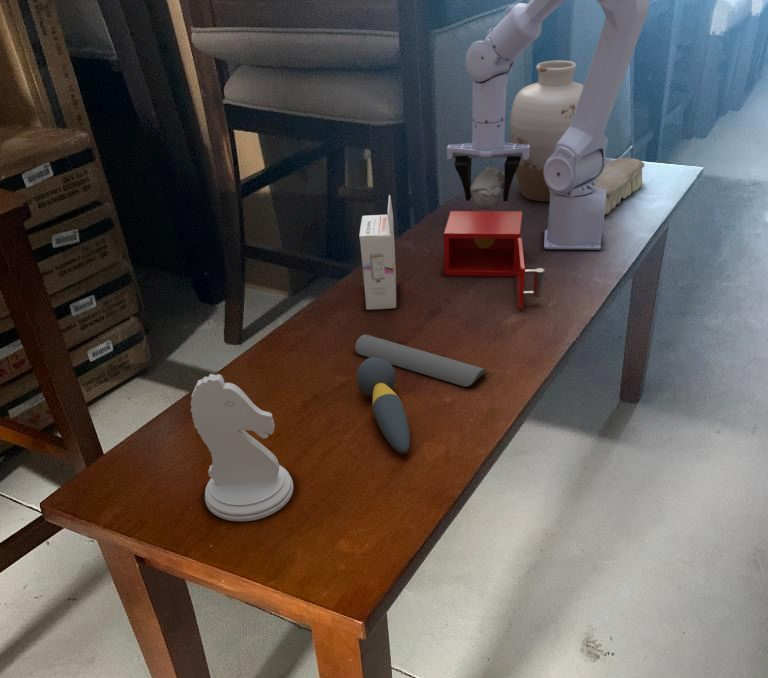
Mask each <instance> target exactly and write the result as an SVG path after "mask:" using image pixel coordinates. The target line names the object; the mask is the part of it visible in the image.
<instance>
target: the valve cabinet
mask: <svg viewBox="0 0 768 678" xmlns="http://www.w3.org/2000/svg"><path fill="white" fill-rule="evenodd" d="M522 225H523V211H522V210H521V211H519V210H516V211H513V210H507V211H505V210H503V211H502V210H499V211H497V210H495V211H494V210H493V211H490V210H487V211H485V210H484V211H483V210H481V211H480V210H479V211H477V210H472V211H471V210H466V211H465V210H451V211H450V212H449V216H448V219H447V222H446V225H445V229H444V232H443V275H444V276H460V277H462V276H464V277H466V276H467V277H469V276H470V277H516V263H517V244H518V238H522V229H523V228H522V227H523V226H522Z"/></svg>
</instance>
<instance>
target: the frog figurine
mask: <svg viewBox="0 0 768 678" xmlns="http://www.w3.org/2000/svg"><path fill="white" fill-rule="evenodd" d="M504 185H505V172H502V171H501V170H500V169H498V168H496V167H489V166H488V167H485V168H484V170H482V171H481V172H480V173H479V174H478V175H477V176H476V177H475V178H474V179H473V181H471V187H470V195H471V199H472V202H473V203H474V205H475V206H476V207H477V208H478V209H480V210H490V209H492V208H493V207H495V206H496V205H497V204H498V202H499V201H500V199H501V196H500V195H501V194H503V193H504Z"/></svg>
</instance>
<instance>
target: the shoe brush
mask: <svg viewBox="0 0 768 678" xmlns="http://www.w3.org/2000/svg"><path fill="white" fill-rule="evenodd" d="M644 167H645V162H644V161H642V160H640V159H637V158H633V157H619V158H615V159H614V160H612V161H609V162H606V163H605V167H604V170H603V172H602V173H601V174H600V176H598V177H597V179H596V185H595V188H598V189H605V190H606V206H605V215H609V213H611V211H612V210H613V209H615V208H616V206H617V205H619V204H620V203H621V199H623V200H625V199H627V198H628V197H630V196H631V194H632V193H634V192H636V191H638V190H639V189H640V188H642V186H643V168H644Z"/></svg>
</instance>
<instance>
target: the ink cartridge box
mask: <svg viewBox="0 0 768 678" xmlns="http://www.w3.org/2000/svg"><path fill="white" fill-rule="evenodd" d="M360 221H361V222H360V228H359V236H358V237H359V243H360V244H359V245H360V255H361V265H362V277H363V285H364V286H363V287H364V298H365V310H366V311H367V310H368V311H370V310H387V309H388V310H390V309H396V308H397V273H396V272H397V269H396V250H395V249H396V247H395V228H394V225H395V224H394V211H393V205H392V197H391V194H388V203H387V214H371V215H370V214H369V215H362V216H361V220H360Z"/></svg>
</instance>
